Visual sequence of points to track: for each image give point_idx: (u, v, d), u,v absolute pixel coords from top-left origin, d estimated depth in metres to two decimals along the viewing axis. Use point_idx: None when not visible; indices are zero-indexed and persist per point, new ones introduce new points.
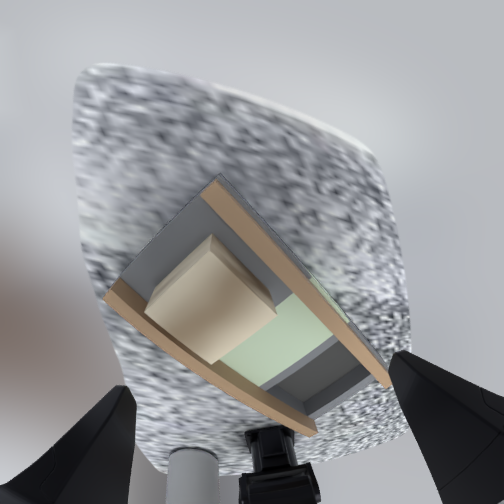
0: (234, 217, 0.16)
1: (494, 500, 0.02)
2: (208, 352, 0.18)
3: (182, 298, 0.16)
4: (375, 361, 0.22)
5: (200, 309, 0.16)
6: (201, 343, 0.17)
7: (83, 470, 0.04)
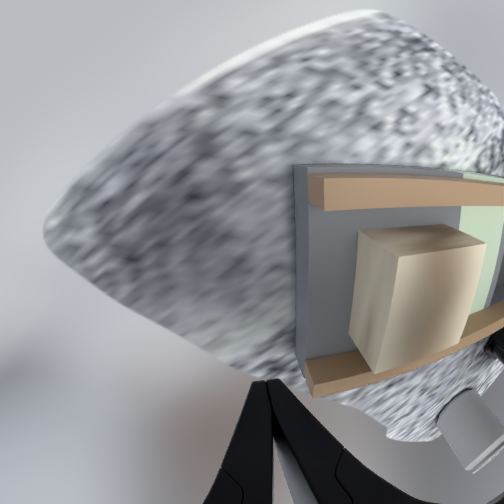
0: (379, 193, 0.10)
1: None
2: (451, 337, 0.11)
3: (404, 325, 0.10)
4: None
5: (426, 315, 0.10)
6: (442, 339, 0.11)
7: None
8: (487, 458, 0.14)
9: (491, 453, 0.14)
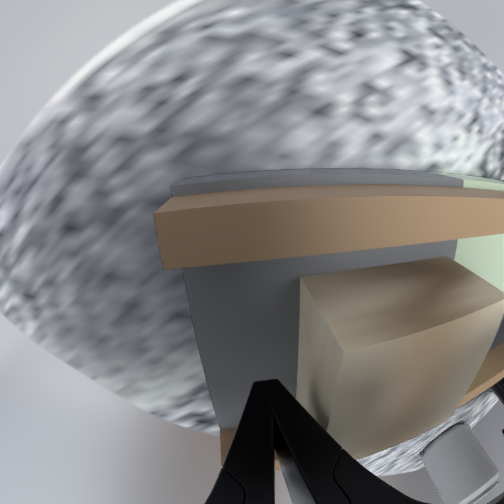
0: (275, 232, 0.05)
1: None
2: (439, 418, 0.07)
3: (359, 427, 0.06)
4: None
5: (398, 410, 0.06)
6: (424, 424, 0.07)
7: None
8: (472, 502, 0.10)
9: (477, 497, 0.10)
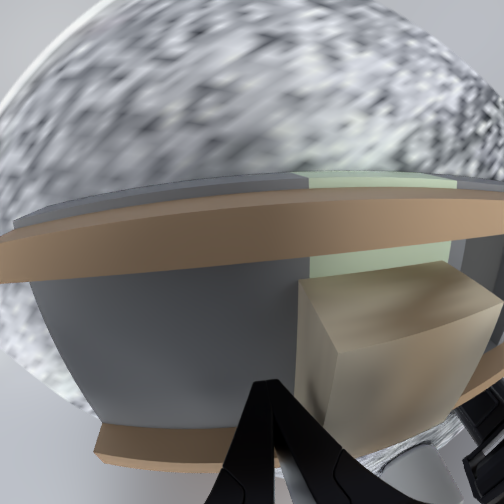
0: (28, 261, 0.05)
1: None
2: (434, 420, 0.07)
3: (354, 427, 0.06)
4: None
5: (393, 411, 0.06)
6: (419, 425, 0.07)
7: (267, 482, 0.04)
8: None
9: None
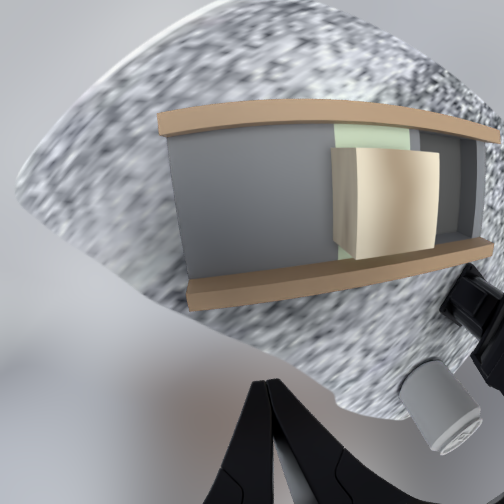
0: (203, 117, 0.12)
1: None
2: (425, 238, 0.14)
3: (374, 211, 0.13)
4: (466, 122, 0.13)
5: (393, 206, 0.13)
6: (415, 237, 0.14)
7: None
8: (454, 436, 0.17)
9: (459, 431, 0.17)
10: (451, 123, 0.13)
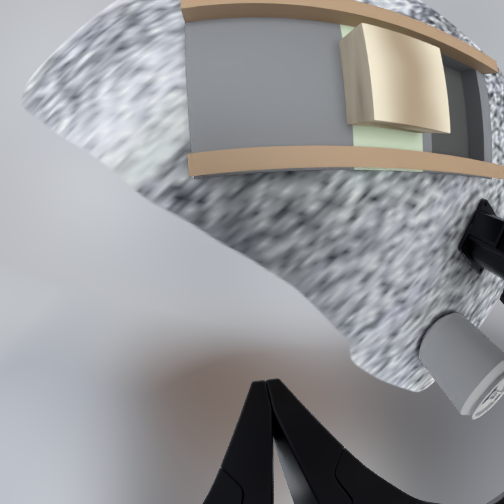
0: None
1: None
2: (440, 120, 0.12)
3: (386, 76, 0.11)
4: (461, 42, 0.11)
5: (403, 77, 0.11)
6: (430, 114, 0.12)
7: None
8: (489, 390, 0.15)
9: (493, 384, 0.15)
10: (448, 38, 0.11)
